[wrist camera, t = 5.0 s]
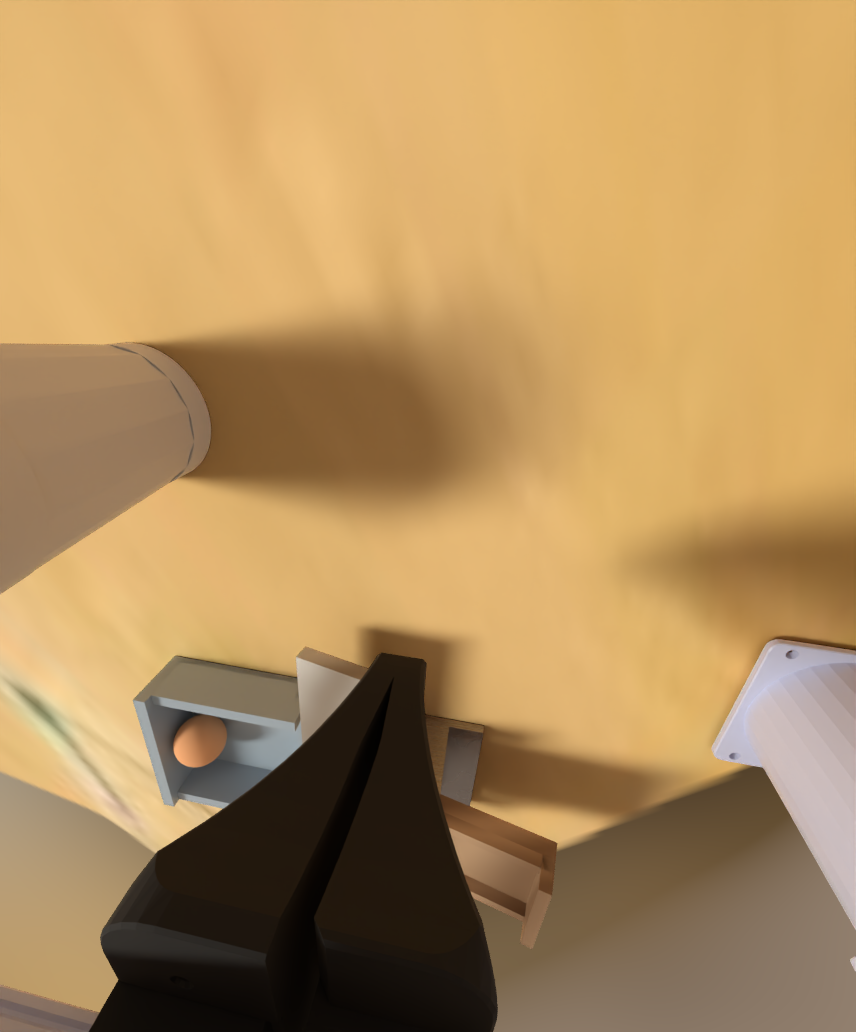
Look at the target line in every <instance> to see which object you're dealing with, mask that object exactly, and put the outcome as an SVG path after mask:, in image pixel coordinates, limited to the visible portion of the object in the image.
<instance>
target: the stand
mask: <svg viewBox="0 0 856 1032" xmlns="http://www.w3.org/2000/svg"><path fill="white" fill-rule="evenodd" d="M425 718H426V727H427V735H428V742H429V747H430V753H431V759H432V764H433V769H434V774H435V778H436V782H437V787H438V791H439V795H440V794H442V795H444V796H446V797H449V798H451V799H454V800H456V801H458V802H461V803H463V804H465V805H468V806H470V802H471V796H472V791H473V786H474V780H475V775H476V770H477V764H478V759H479V754H480V748H481V743H482V738H483V731H484V726H483V725H477V724H472V723H467V722H461V721H456V720H450V719H445V718H440V717H434V716H429V715H425Z"/></svg>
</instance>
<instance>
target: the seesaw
mask: <svg viewBox="0 0 856 1032" xmlns="http://www.w3.org/2000/svg"><path fill="white" fill-rule="evenodd" d="M296 664H297V678H298V692H299V706H300V719H301V733H302V744H303V743H304V742H305V741H306V740H307V739H308V738H309V737H310V736H311V735H312V734H313V733H314V732H315V731H316V730H317V729H318V728H319V727H320V726H321V725H322V724H323V723H324V722H325V721H326V720H327V718H328V717H329V716H330V715H331V714H332V713H333V712H334V711H335V710H336V709H337V708H338V706H339V705H340V704H341V703H342V702H343V701H344V699H345V698H346V697H347V696H348V695H349V693H350V692H351V691H352V690H353V689H354V687H355V686H356V685H357V684H358V682H359V681H360V680H361V678H362V677H363V676H364V674H365V673H366V672H367V670H368V668H365V667H362V666H359V665H357V664H354V663H351V662H348V661H345V660H342V659H340V658H337V657H334V656H331V655H328V654H325V653H322V652H320V651H317V650H314V649H311V648H308V647H305V648H304V649H303V650H302V651H301V652H300V653H299V654H298V655H297V656H296ZM440 799H441V802H442V806H443V810H444V814H445V817H446V820H447V824H448V827H449V830H450V833H451V837H452V840H453V843H454V846H455V850H456V853H457V856H458V859H459V861H460V864H461V867H462V870H463V873H464V876H465V878H466V881H467V884H468V886H469V889H470V892H471V894H472V897H473V898H474V899H476V900H479V901H480V902H483V903H485V904H487V905H489V906H491V907H493V908H495V909H497V910H500V911H501V912H504V913H506V914H508V915H510V916H512V917H514V918H516V919H518V920H520V921H522V922H523V925H522V933H521V940H520V943H521V944H523V945H525V946H527V947H529V948H531V949H532V948H533V945H534V943H535V940H536V937H537V935H538V932H539V929H540V927H541V924H542V921H543V918H544V916H545V913H546V911H547V908H548V905H549V902H550V900H551V897H552V891H553V880H554V870H555V859H556V850H557V843H556V842H554V841H551V840H549V839H546V838H544V837H542V836H539V835H537V834H535V833H532V832H530V831H527V830H525V829H523V828H520V827H518V826H515V825H513V824H511V823H508V822H506V821H504V820H501V819H499V818H496V817H494V816H492V815H489V814H487V813H484V812H482V811H480V810H477V809H475V808H473V807H470V806H468V805H465V804H463V803H461V802H458V801H456V800H454V799H451V798H449V797H446V796H444V795H442V794H440Z"/></svg>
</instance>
